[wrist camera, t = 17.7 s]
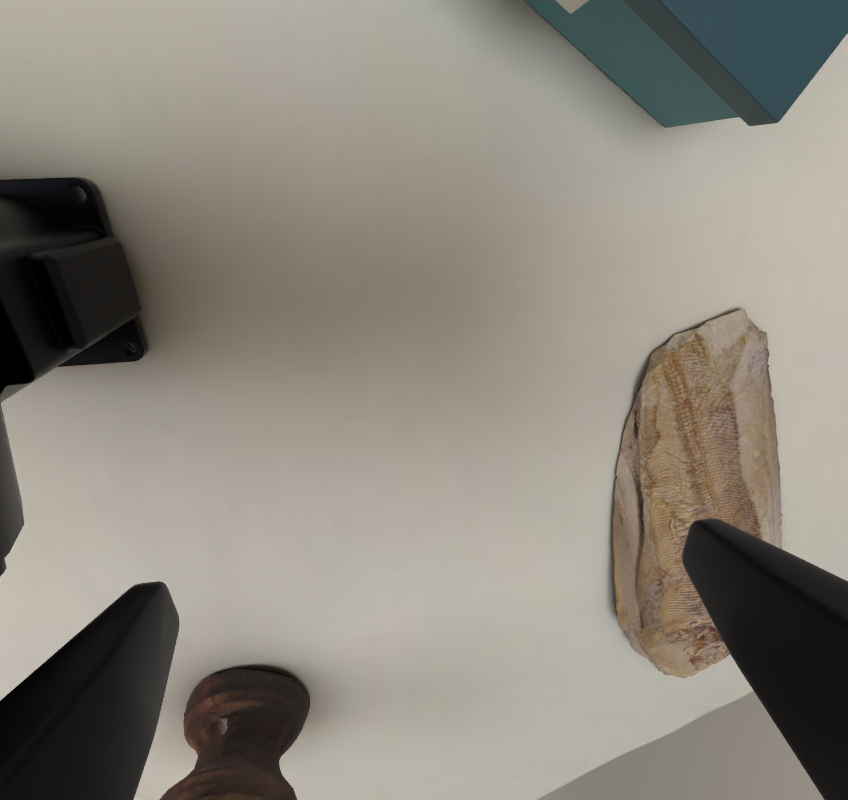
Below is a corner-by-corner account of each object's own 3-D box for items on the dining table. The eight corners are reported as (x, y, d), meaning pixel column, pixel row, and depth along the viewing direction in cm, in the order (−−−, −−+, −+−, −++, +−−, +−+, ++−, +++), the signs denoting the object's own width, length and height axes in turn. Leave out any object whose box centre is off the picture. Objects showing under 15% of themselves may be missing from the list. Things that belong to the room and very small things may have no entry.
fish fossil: (563, 376, 21) (575, 386, 20) (761, 288, 21) (783, 293, 20) (646, 683, 33) (656, 699, 32) (775, 624, 33) (790, 638, 32)
